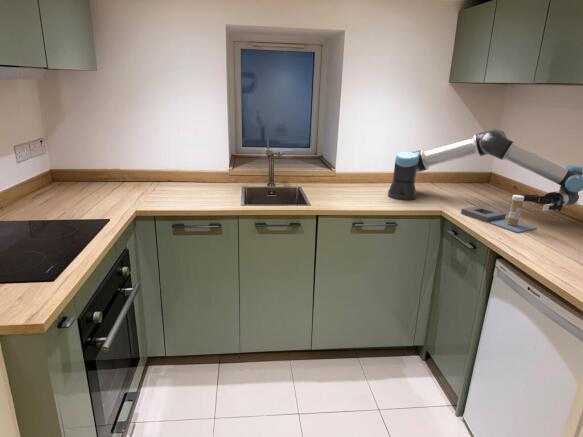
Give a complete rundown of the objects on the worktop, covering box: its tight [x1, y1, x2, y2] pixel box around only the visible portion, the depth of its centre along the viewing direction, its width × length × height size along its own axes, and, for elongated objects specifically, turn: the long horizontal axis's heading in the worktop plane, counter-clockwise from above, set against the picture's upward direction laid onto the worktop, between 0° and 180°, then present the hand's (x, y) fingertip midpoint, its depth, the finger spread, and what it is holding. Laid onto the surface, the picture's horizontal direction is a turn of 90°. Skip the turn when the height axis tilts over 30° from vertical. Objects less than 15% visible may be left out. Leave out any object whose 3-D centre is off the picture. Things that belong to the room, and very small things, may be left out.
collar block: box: [460, 205, 507, 223], centre depth 196 cm, size 14×14×2 cm
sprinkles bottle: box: [507, 194, 525, 226], centre depth 181 cm, size 5×5×14 cm
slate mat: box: [487, 217, 537, 234], centre depth 184 cm, size 14×14×1 cm
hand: (528, 203), depth 184 cm, fingers open, 13 cm apart
